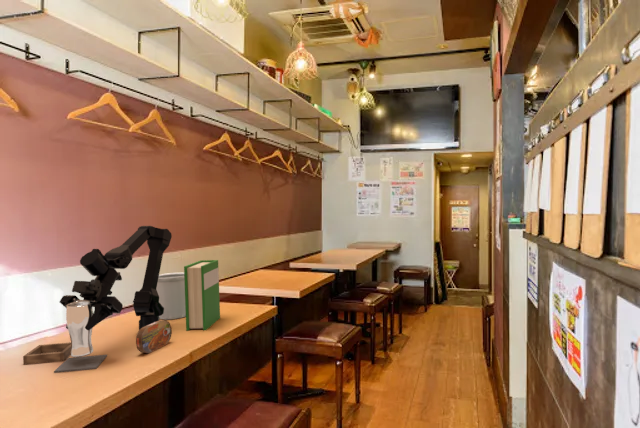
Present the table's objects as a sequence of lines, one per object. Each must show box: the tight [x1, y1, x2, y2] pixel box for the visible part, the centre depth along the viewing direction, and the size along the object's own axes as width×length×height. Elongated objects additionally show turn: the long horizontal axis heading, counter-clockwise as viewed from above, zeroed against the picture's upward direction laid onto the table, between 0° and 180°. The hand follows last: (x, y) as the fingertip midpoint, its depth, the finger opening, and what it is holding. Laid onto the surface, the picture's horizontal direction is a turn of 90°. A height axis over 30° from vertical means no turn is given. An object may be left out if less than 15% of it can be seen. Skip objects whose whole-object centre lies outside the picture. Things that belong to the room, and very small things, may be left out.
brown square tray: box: [22, 341, 71, 366], centre depth 135 cm, size 11×11×2 cm
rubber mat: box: [53, 354, 108, 374], centre depth 128 cm, size 11×11×1 cm
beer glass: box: [65, 301, 94, 358], centre depth 128 cm, size 7×7×15 cm
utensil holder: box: [156, 271, 186, 321], centre depth 184 cm, size 15×15×18 cm
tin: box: [135, 319, 173, 354], centre depth 141 cm, size 15×3×8 cm, turn 163°
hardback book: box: [183, 259, 221, 332], centre depth 169 cm, size 18×7×24 cm, turn 176°
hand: (77, 329), depth 127 cm, fingers closed on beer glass, 7 cm apart
